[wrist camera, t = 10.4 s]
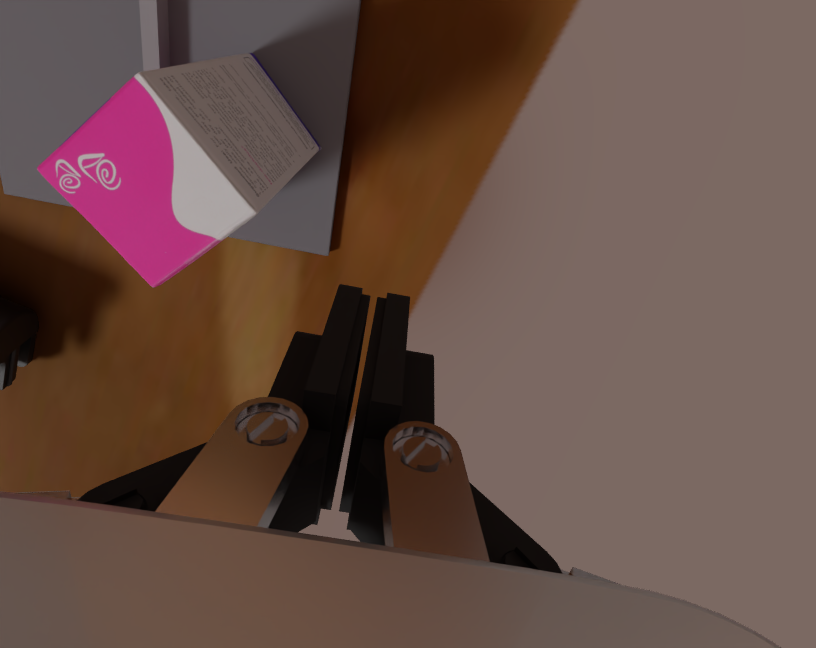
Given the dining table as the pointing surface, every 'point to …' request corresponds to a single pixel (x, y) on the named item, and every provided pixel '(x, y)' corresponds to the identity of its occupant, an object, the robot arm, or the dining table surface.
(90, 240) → the dining table surface
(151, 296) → the dining table surface
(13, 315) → the end cap
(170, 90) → the supplement box
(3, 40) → the mat
